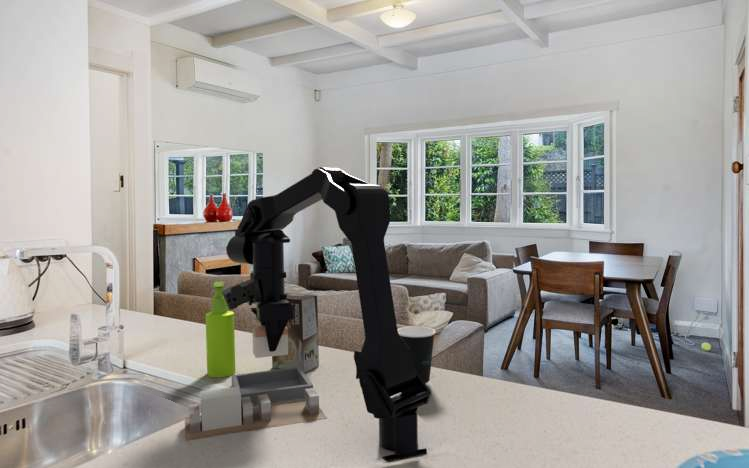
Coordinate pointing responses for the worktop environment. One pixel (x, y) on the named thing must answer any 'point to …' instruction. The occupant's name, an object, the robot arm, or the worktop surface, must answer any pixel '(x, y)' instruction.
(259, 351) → the block
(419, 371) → the dixie cup
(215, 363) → the soap dispenser
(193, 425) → the board
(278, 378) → the tray
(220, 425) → the block
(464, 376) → the worktop surface
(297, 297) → the coffee box
